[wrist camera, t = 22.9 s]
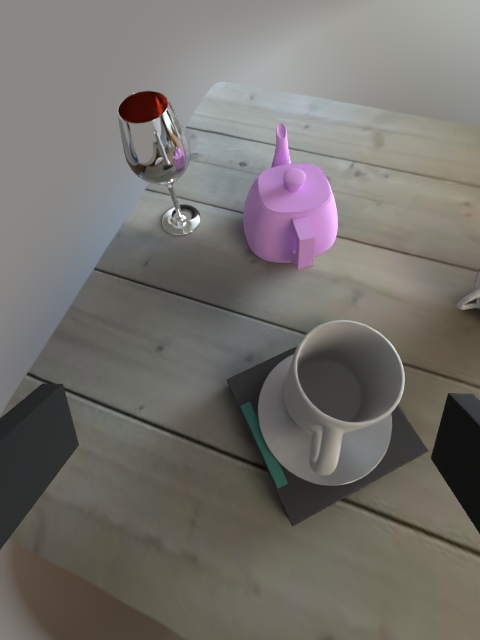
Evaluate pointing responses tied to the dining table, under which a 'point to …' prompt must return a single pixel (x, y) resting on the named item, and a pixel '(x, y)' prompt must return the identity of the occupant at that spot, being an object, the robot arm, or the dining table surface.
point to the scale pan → (294, 442)
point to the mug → (341, 385)
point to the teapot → (290, 210)
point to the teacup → (471, 297)
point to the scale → (297, 492)
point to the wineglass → (158, 151)
